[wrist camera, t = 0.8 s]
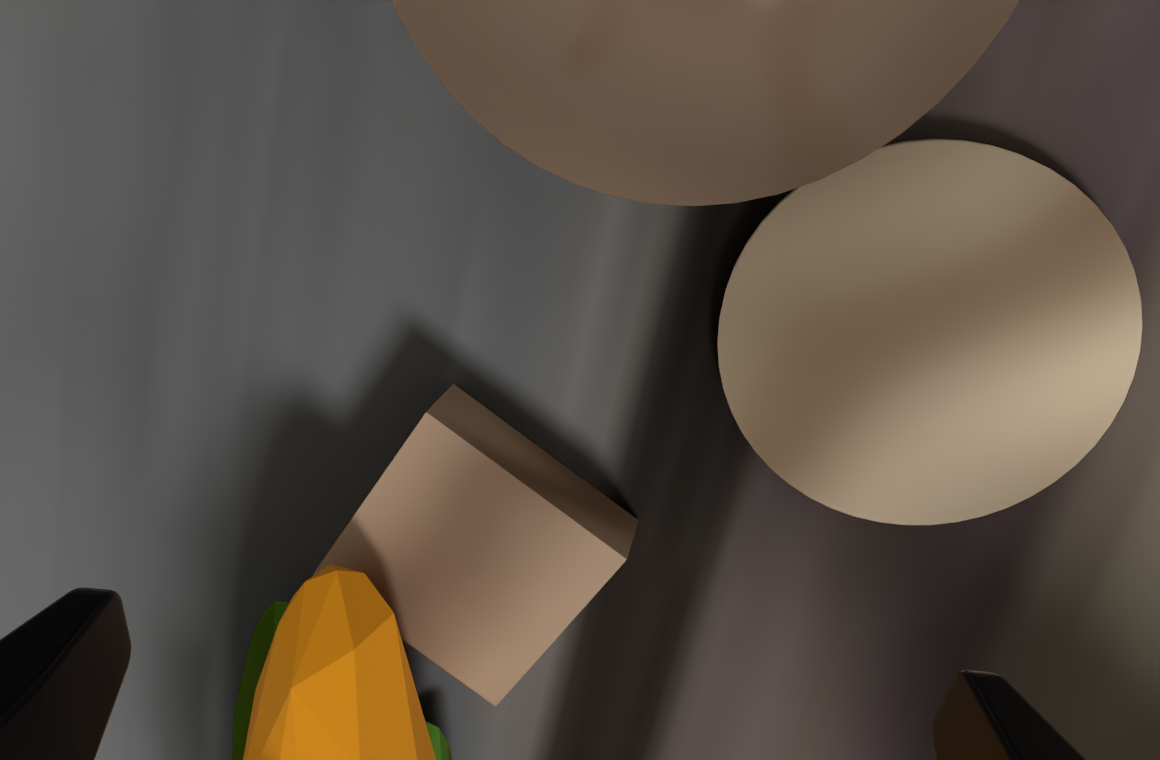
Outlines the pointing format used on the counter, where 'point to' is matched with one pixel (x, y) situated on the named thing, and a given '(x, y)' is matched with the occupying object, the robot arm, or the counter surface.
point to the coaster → (929, 332)
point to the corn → (331, 680)
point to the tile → (482, 544)
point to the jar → (699, 84)
